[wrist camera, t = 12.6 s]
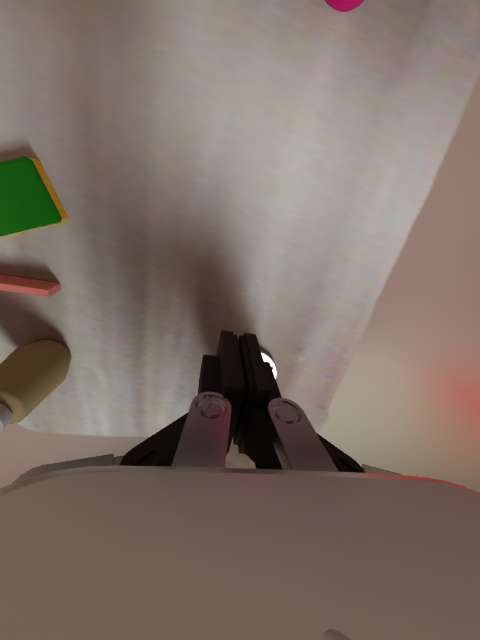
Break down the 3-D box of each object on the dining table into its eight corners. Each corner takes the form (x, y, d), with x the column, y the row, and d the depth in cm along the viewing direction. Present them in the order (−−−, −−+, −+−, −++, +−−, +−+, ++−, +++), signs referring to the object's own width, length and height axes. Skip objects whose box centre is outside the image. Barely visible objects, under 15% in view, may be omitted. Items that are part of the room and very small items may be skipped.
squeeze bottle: (13, 346, 40) (-120, 445, 24) (53, 324, 39) (-60, 414, 23) (52, 379, 44) (-42, 485, 28) (89, 360, 43) (13, 459, 27)
